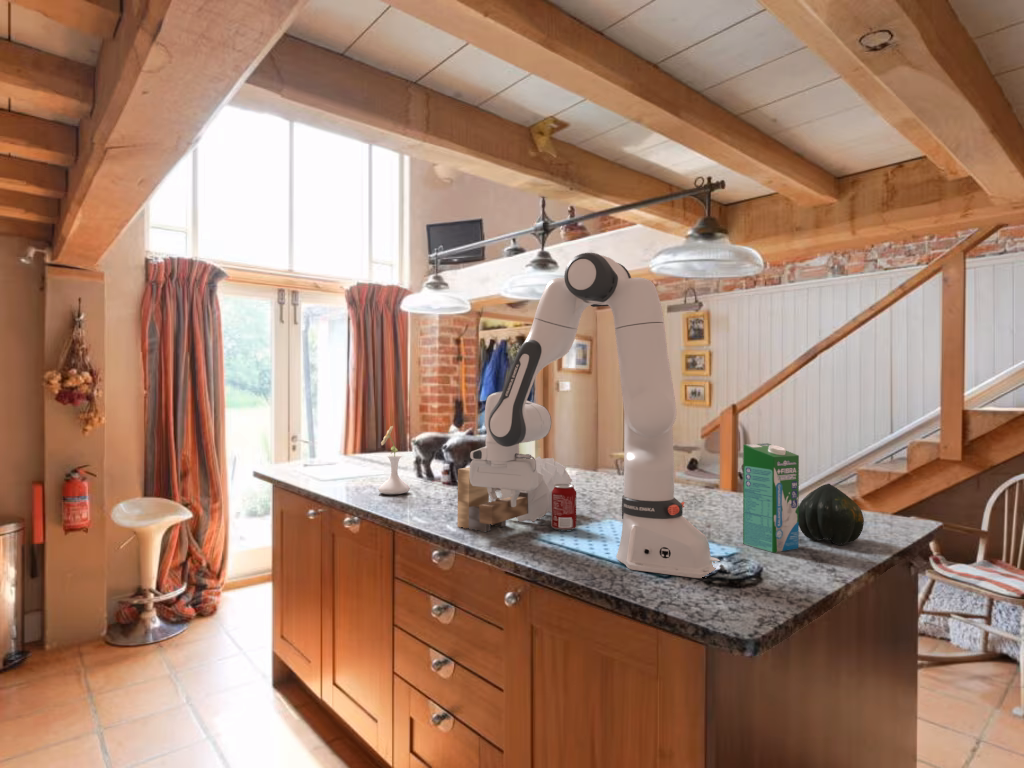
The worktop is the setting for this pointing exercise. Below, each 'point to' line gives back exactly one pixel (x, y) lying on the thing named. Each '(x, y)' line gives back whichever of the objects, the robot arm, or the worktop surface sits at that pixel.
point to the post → (471, 503)
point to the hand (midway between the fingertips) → (503, 505)
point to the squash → (830, 516)
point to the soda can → (563, 507)
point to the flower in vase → (393, 473)
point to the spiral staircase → (542, 488)
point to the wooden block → (503, 509)
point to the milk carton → (770, 497)
